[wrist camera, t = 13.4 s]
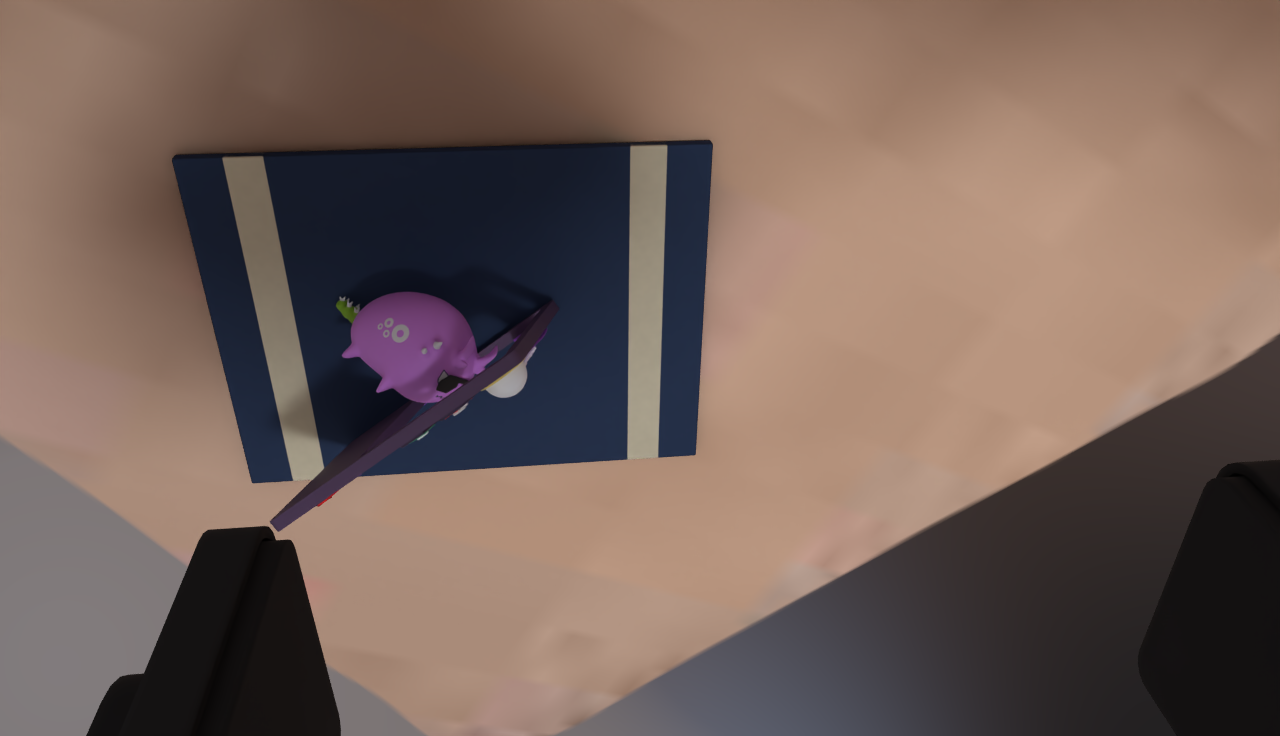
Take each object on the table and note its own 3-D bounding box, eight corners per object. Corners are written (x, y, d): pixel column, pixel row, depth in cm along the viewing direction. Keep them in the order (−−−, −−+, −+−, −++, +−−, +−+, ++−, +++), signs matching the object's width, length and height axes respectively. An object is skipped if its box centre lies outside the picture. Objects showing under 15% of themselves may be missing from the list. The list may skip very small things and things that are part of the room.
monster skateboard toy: (292, 553, 28) (538, 384, 26) (170, 411, 27) (416, 224, 25) (371, 466, 34) (574, 325, 33) (275, 349, 34) (477, 196, 32)
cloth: (710, 139, 31) (713, 144, 30) (693, 449, 37) (695, 455, 37) (174, 154, 29) (170, 159, 28) (254, 476, 35) (251, 484, 35)
